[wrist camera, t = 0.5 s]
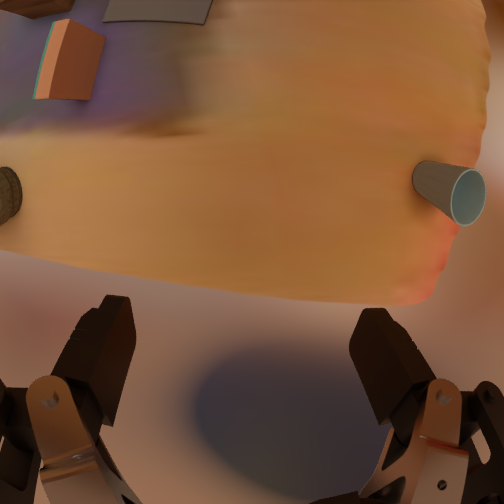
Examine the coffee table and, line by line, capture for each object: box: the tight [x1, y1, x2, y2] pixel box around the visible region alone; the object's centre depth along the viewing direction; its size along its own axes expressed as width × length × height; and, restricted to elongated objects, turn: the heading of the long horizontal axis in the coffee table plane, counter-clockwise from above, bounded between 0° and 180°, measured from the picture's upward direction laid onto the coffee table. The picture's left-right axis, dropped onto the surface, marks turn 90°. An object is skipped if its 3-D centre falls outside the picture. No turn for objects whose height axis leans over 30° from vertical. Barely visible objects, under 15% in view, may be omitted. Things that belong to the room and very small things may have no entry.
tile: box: [33, 19, 106, 100], centre depth 21 cm, size 9×2×10 cm, turn 166°
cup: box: [413, 161, 487, 226], centre depth 31 cm, size 8×8×10 cm
